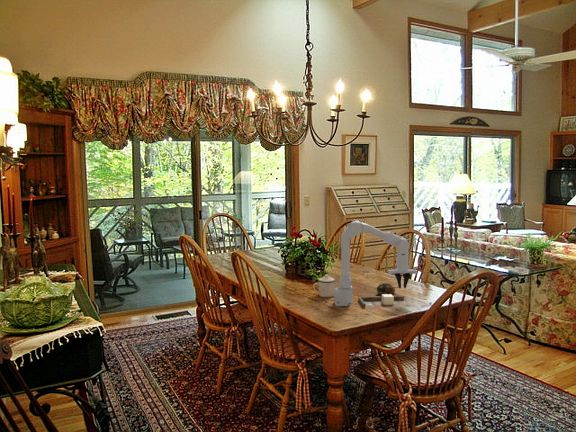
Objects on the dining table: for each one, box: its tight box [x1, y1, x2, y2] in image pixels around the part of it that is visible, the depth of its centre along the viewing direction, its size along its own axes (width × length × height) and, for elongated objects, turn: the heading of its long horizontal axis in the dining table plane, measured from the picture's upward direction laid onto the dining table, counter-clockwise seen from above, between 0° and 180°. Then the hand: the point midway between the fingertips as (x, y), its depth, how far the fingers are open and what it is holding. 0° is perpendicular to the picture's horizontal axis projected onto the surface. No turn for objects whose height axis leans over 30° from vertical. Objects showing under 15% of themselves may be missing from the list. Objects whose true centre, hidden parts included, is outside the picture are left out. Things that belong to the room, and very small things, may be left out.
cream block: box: [382, 294, 395, 306], centre depth 248 cm, size 5×5×4 cm
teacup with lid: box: [313, 274, 336, 298], centre depth 269 cm, size 12×9×12 cm
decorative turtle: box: [376, 282, 396, 296], centre depth 264 cm, size 10×15×8 cm, turn 16°
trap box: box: [357, 295, 411, 309], centre depth 247 cm, size 24×13×4 cm, turn 93°
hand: (402, 287), depth 247 cm, fingers open, 2 cm apart
